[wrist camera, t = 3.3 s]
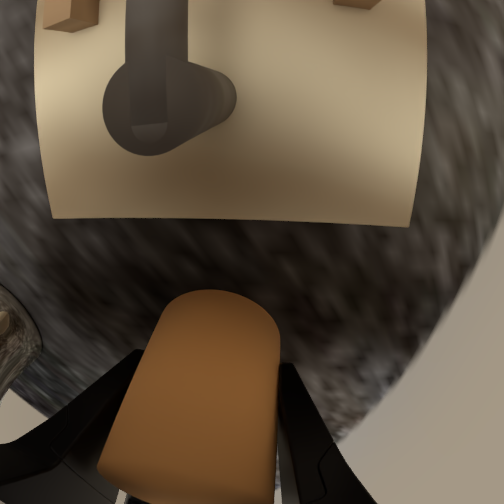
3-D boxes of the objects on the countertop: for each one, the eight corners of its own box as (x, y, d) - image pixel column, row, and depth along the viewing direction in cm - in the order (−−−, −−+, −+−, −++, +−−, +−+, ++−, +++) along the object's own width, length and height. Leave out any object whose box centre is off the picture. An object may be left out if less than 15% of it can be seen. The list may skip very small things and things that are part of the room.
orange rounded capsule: (276, 380, 12) (269, 522, 7) (170, 371, 12) (128, 500, 7) (284, 292, 10) (280, 481, 4) (149, 285, 10) (67, 440, 5)
